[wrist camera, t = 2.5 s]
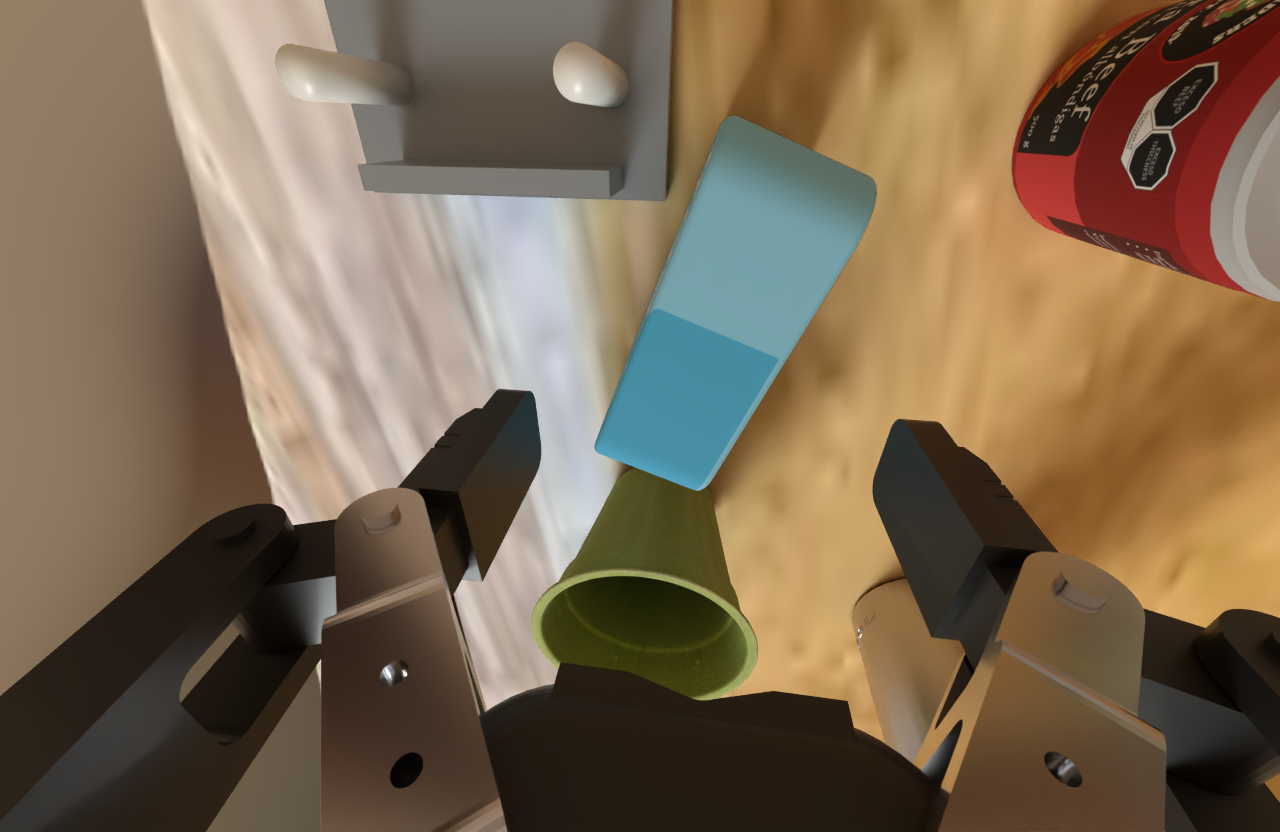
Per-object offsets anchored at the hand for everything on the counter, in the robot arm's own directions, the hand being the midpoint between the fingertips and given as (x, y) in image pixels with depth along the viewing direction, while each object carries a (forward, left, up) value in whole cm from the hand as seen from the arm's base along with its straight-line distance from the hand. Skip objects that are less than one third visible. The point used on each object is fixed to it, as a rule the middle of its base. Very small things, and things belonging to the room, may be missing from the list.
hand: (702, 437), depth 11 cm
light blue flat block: (0, 0, -17) cm, 17 cm away
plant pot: (+2, +17, -17) cm, 24 cm away
